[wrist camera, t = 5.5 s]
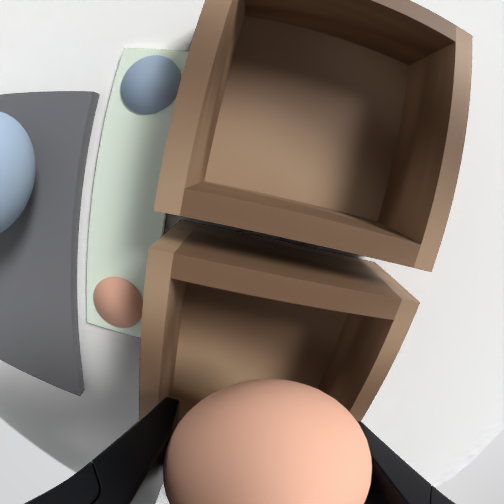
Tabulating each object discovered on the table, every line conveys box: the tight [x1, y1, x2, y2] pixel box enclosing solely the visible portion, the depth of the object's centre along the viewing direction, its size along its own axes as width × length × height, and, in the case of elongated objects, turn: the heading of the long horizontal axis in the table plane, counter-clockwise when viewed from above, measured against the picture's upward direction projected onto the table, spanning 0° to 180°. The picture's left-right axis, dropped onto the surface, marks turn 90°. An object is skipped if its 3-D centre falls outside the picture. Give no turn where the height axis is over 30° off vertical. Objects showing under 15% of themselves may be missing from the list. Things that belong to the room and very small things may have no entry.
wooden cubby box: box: [139, 220, 420, 424], centre depth 11 cm, size 8×8×4 cm
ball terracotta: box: [163, 379, 372, 504], centre depth 6 cm, size 5×5×5 cm
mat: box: [0, 91, 99, 396], centre depth 12 cm, size 15×7×1 cm, turn 168°
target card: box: [87, 48, 188, 338], centre depth 11 cm, size 12×3×1 cm, turn 168°
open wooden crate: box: [154, 0, 472, 272], centre depth 9 cm, size 8×8×4 cm
